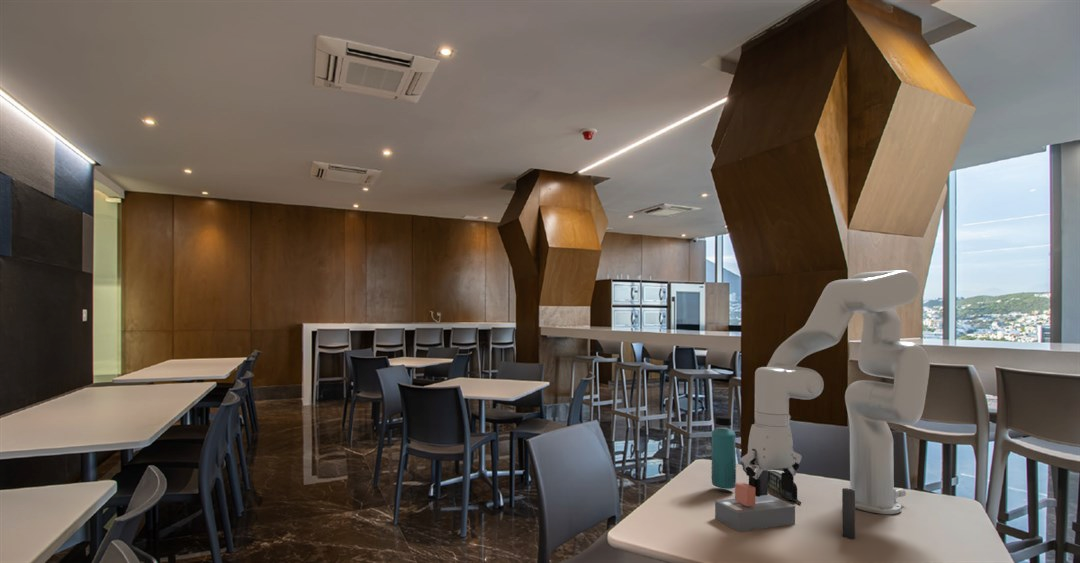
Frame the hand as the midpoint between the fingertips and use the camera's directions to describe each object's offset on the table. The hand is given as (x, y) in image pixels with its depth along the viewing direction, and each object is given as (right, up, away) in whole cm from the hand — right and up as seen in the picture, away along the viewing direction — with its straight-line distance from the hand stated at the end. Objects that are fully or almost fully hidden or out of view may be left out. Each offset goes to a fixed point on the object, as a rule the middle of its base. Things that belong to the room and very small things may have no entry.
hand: (771, 493), depth 127 cm
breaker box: (-5, -6, -2) cm, 8 cm away
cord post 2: (+13, -6, -10) cm, 17 cm away
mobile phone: (+11, -8, +17) cm, 22 cm away
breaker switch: (-7, -1, -3) cm, 8 cm away
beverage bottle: (-5, -7, +19) cm, 21 cm away
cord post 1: (+4, -7, +15) cm, 17 cm away
